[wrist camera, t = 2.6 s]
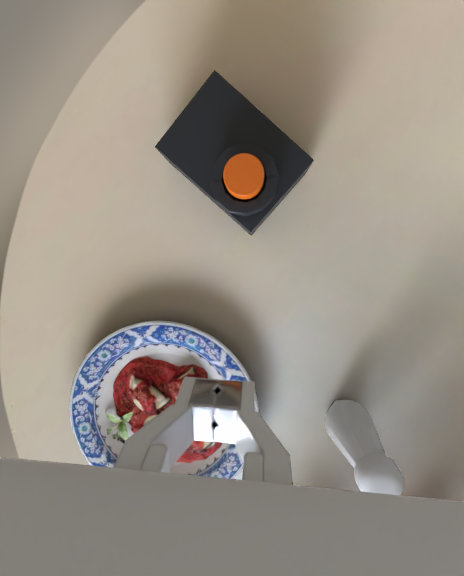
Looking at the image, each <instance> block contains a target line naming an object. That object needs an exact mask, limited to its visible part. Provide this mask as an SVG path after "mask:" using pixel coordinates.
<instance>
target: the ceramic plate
mask: <svg viewBox="0 0 464 576" xmlns="http://www.w3.org/2000/svg"><path fill="white" fill-rule="evenodd" d="M185 376H186V377H196V378H197V377H198V378H209V379H219V380H234V381H242V384H243V381H251V379H250V377H249V375H248V373H247V371H246V370H245V368H244V367H243V365H242V364H241V362H240V361H239V360H238V358H237V357H236V356H235V355H234V354H233V353H232V352H231V351H230V350H229V349H228V348H227V347H226V346H225V345H224V344H222V343H221V342H220V341H219V340H217V339H216V338H214V337H213V336H211V335H209V334H208V333H206V332H204V331H202V330H200V329H197V328H195V327H192V326H189V325H186V324H182V323H177V322H171V321H146V322H140V323H135V324H132V325H129V326H126V327H123V328H121V329H118V330H117V331H115V332H113V333H111V334H109V335H108V336H106V337H105V338H103V339H102V340H101V341H100V342H99V343H97V344H96V345H95V346H94V347H93V348H92V349H91V351H90V352H89V353H88V354H87V355H86V357H85V358H84V360H83V361H82V363H81V364H80V366H79V368H78V370H77V373H76V375H75V377H74V381H73V384H72V388H71V394H70V419H71V425H72V429H73V432H74V435H75V438H76V441H77V443H78V445H79V447H80V449H81V451H82V453H83V455H84V456H85V458H86V460H87V461H88V462H89V463H90V465H91V466H101V467H111V468H113V467H114V465H115V462H116V460H117V458H118V456H119V454H120V452H121V450H122V447H123V445H124V443H125V441H126V440H127V439H128V438H129V437H130V436H132V435H133V434H134V433H136V432H137V431H138V430H139V429H141V428H142V427H143V426H144V425H146V424H147V423H148V422H150V421H151V420H152V419H153V418H155V417H156V416H157V415H159V414H160V413H161V412H162V411H164V410H165V409H166V408H168V407H169V406H170V405H175V402H176V399H177V396H178V393H179V390H180V387H181V384H182V381H183V379H184V377H185ZM254 411H255V412H258V413H259V405H258V400H257V396H256V392H255V403H254ZM243 464H244V462H243V460H242V458H241V456H240V454H239V452H238V450H237V448H236V446H235V444H231V443H222V442H215V441H196V440H193V443H192V444H191V445H190V446H189V447H188V448H187V450H186V451H185V452H184V453H183V454H182V455H181V457H180V458H179V459H178V460H177V461H176V462H175V463H174V465H173V466H172V467H171V468H170V473H174V474H184V475H195V476H205V477H216V478H226V479H234V478H235V477H236V476H237V475H238V474H239V473H240V472H241V470H242V469H243Z"/></svg>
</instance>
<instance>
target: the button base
mask: <svg viewBox="0 0 464 576" xmlns="http://www.w3.org/2000/svg"><path fill="white" fill-rule="evenodd" d="M155 147H156V148H157V150H158V151H159V152H160V153H161V154H162V155H163V156H164V157H165V158H166V159H167V160H168V161H169V163H171V164H172V165H173V166H174V167H175V168H176V169H177V170H178V171H180V172H181V173H182V174H183V175H184V176H185V177H186V178H187V179H189V180H190V181H191V182H192V183H193V184H194V185H195V186H196V187H197V188H199V189H200V190H201V191H202V192H203V193H204V194H205V195H206V196H208V197H209V198H210V199H211V200H212V201H213V202H214V203H215V204H216V205H218V206H219V207H220V208H221V209H222V210H223V211H224V212H225V213H227V214H228V215H229V216H230V217H231V218H232V219H233V220H234V221H236V222H237V223H238V224H239V225H240V226H241V227H242V228H243V229H244V230H246V231H247V232H248V233H249V234H250V235H252V234H253V233H254V232H255V231H256V229H257V228H258V227H259V226H260V225H261V224H262V223H263V221H264V220H265V219H266V218H267V217H268V216H269V215H270V214H271V212H272V211H273V210H274V209H275V208H276V207H277V206H278V204H279V203H280V202H281V201H282V200H283V199H284V198H285V196H286V195H287V194H288V193H289V192H290V191H291V190H292V188H293V187H294V186H295V185H296V184H297V183H298V182H299V180H300V179H301V178H302V177H303V176H304V175H305V173H306V172H307V170H308V169H309V167H310V166H311V164H312V162H313V161H314V160H313V159H312V158H311V157H310V156H309V155H308V154H307V153H306V152H304V151H303V150H302V149H301V148H300V147H299V146H298V145H297V144H296V143H294V142H293V141H292V140H291V139H290V138H289V137H288V136H287V135H286V134H285V133H283V132H282V131H281V130H280V129H279V128H278V127H277V126H276V125H275V124H274V123H272V122H271V121H270V120H269V119H268V118H267V117H266V116H265V115H264V114H262V113H261V112H260V111H259V110H258V109H257V108H256V107H255V106H254V105H253V104H251V103H250V102H249V101H248V100H247V99H246V98H245V97H244V96H243V95H242V94H240V93H239V92H238V91H237V90H236V89H235V88H234V87H233V86H232V85H230V84H229V83H228V82H227V81H226V80H225V79H224V78H223V77H222V76H221V75H219V74H218V73H217V72H216V71H214V72H213V73H212V74H211V76H210V77H209V78H208V79H207V81H206V82H205V83H204V85H203V86H202V87H201V88H200V90H199V91H198V92H197V94H196V95H195V96H194V97H193V99H192V100H191V101H190V102H189V104H188V105H187V106H186V108H185V109H184V110H183V111H182V113H181V114H180V115H179V117H178V118H177V119H176V120H175V122H174V123H173V124H172V126H171V127H170V128H169V129H168V131H167V132H166V133H165V135H164V136H163V137H162V138H161V140H160V141H159V142H158V143H157V145H156V146H155ZM240 153H248V154H252V155H254V156H255V157H257V158H258V159H259V160H260V162H261V163H262V165H263V167H264V183H263V186H262V189H261V190H260V192H259V193H258V194H257V195H256V196H254V197H253V198H250V199H246V200H243V199H238V198H236V197H234V196H232V195H231V194H230V193H229V191H228V190H227V187H226V185H225V183H224V179H223V171H224V167H225V165H226V163H227V162H228V161H229V159H230V158H232V157H233V156H235V155H237V154H240Z"/></svg>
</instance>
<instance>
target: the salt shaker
mask: <svg viewBox="0 0 464 576" xmlns="http://www.w3.org/2000/svg"><path fill="white" fill-rule="evenodd" d="M325 426H326V431H327V433H328V434H329V436H330V438H331V439H332V440H333V442H334V443H335V444H336V445H337V447H338V448H339V449H340V451H341V452H342V453H343V454H344V456H345V457H346V458H347V460H348V461H349V462H350V464H351V465H352V466H353V467H354V474H355V481H356V484H357V485H358V487H359V489H360V490H361V492H371V493H381V494H392V495H401V493H402V491H403V489H404V477H403V474H402V472H401V471H400V469H399V467H398V466H397V464H396V463H395V462H394V460H392V459H391V458H389V457H388V456H386V455H385V452H384V450H383V447H382V444H381V442H380V439H379V436H378V434H377V431H376V428H375V426H374V423H373V420H372V418H371V416H370V414H369V413H368V411H367V409H366V408H365V407H363V406H362V405H360V404H359V403H357V402H356V401H352V400H338V401H334V403H333V404H332V405H331V407H330V408H329V409H328V411H327V413H326V416H325Z"/></svg>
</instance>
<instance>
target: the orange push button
mask: <svg viewBox="0 0 464 576" xmlns="http://www.w3.org/2000/svg"><path fill="white" fill-rule="evenodd" d="M223 179H224V183H225V185H226V187H227V190H228V191H229V193H230V194H231V195H232V196H234V197H236V198H238V199H243V200H246V199H250V198H253V197H254V196H256V195H257V194H258V193H259V192H260V190H261V189H262V186H263V183H264V167H263V165H262V163H261V162H260V160H259V159H258V158H257V157H255V156H254V155H252V154H248V153H240V154H237V155H235V156H233V157H232V158H230V159H229V161H228V162H227V163H226V165H225V167H224V171H223Z"/></svg>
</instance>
